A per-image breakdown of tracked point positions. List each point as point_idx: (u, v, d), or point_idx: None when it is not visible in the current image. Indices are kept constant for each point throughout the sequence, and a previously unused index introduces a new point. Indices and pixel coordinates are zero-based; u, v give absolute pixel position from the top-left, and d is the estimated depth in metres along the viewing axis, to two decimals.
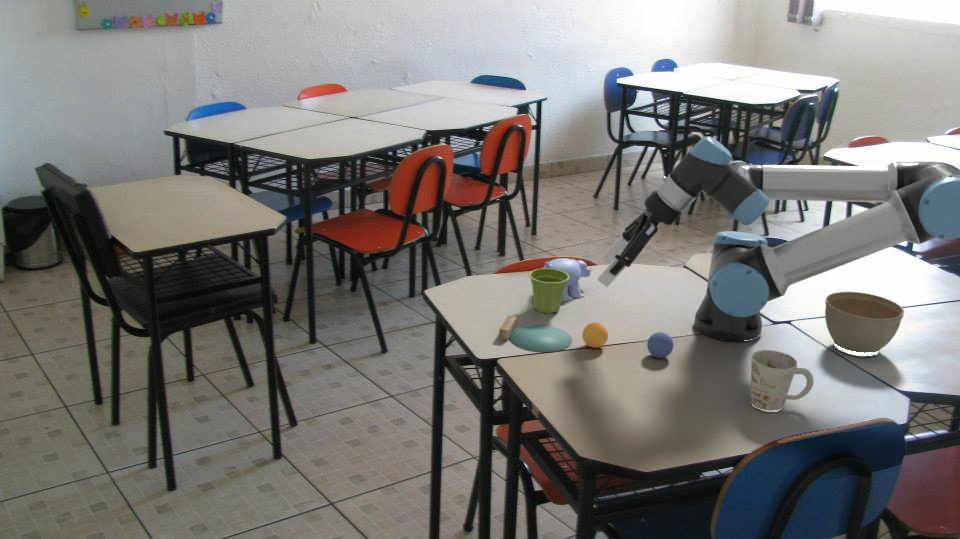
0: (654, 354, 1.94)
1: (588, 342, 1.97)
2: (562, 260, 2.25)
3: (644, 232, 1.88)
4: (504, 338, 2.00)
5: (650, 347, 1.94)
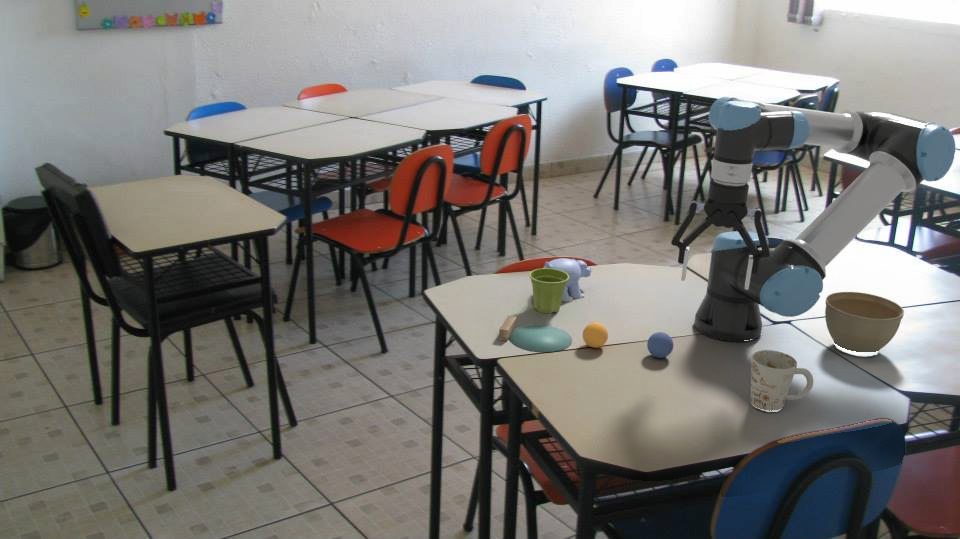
0: (654, 354, 1.94)
1: (588, 342, 1.97)
2: (562, 260, 2.25)
3: None
4: (504, 338, 2.00)
5: (650, 347, 1.94)
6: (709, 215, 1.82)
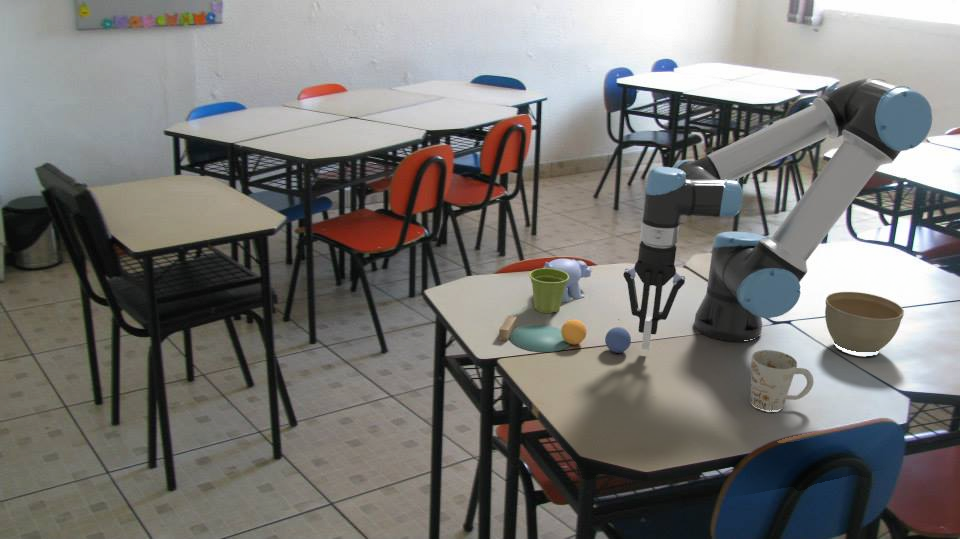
0: (623, 340, 1.94)
1: (576, 340, 1.97)
2: (562, 260, 2.25)
3: None
4: (504, 338, 2.00)
5: (626, 346, 1.94)
6: (639, 275, 1.90)
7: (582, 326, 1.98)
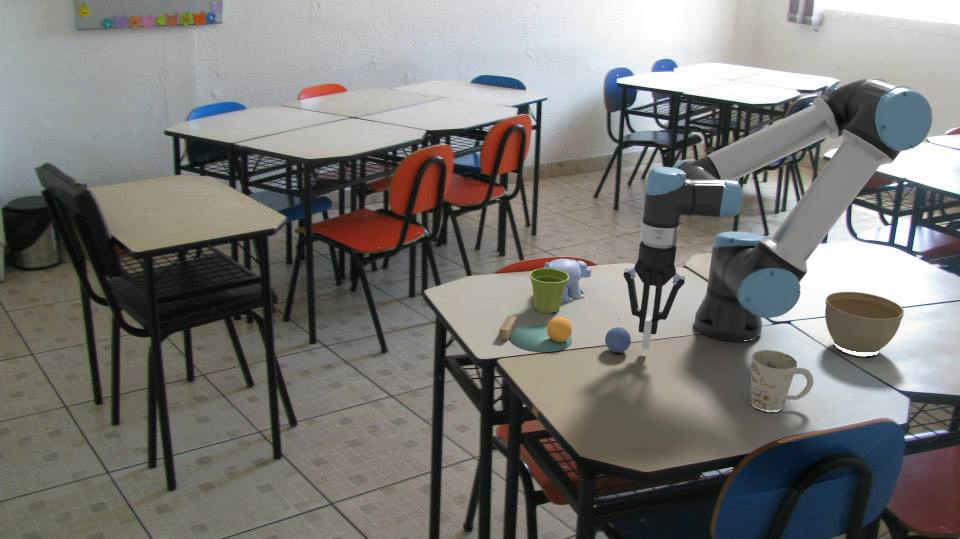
0: (623, 340, 1.94)
1: (563, 332, 1.97)
2: (562, 261, 2.25)
3: None
4: (504, 338, 2.00)
5: (626, 346, 1.94)
6: (639, 275, 1.90)
7: (555, 320, 1.99)
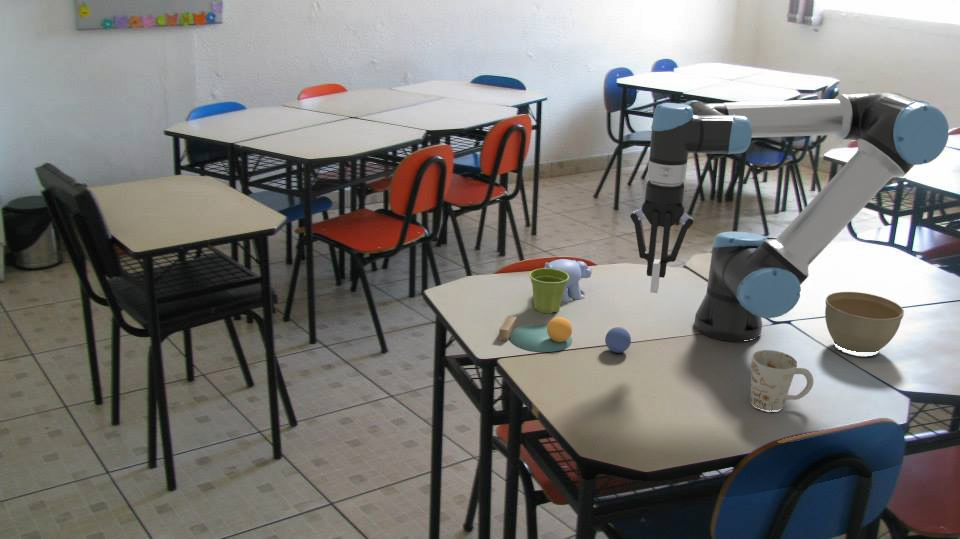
0: (623, 340, 1.94)
1: (563, 332, 1.97)
2: (562, 261, 2.24)
3: None
4: (504, 338, 2.00)
5: (626, 346, 1.94)
6: (647, 215, 1.85)
7: (555, 320, 1.99)
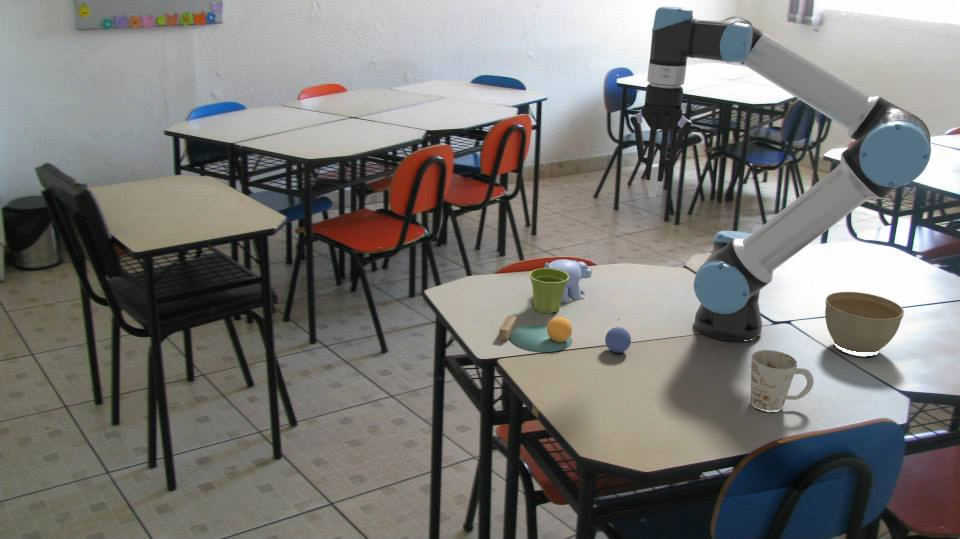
0: (623, 340, 1.94)
1: (563, 332, 1.97)
2: (562, 261, 2.24)
3: None
4: (504, 338, 2.00)
5: (626, 346, 1.94)
6: (646, 119, 1.90)
7: (555, 320, 1.99)
